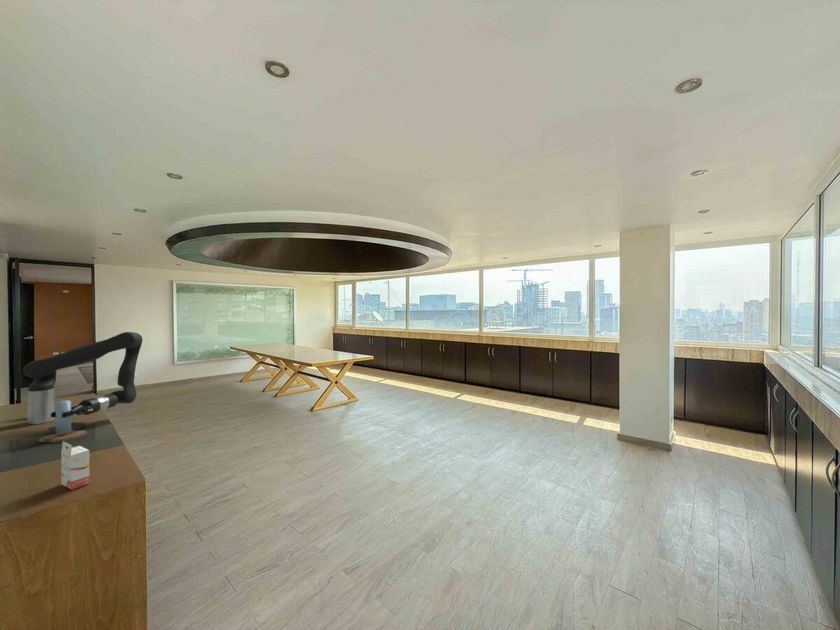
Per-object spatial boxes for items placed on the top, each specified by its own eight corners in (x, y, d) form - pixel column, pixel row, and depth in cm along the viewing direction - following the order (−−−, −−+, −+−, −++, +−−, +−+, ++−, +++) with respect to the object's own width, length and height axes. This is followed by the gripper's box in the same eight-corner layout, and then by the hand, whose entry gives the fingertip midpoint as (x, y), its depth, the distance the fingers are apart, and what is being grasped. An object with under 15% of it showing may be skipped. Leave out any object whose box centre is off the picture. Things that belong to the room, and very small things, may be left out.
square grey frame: (48, 432, 167) (48, 428, 167) (68, 426, 176) (68, 422, 176) (65, 432, 167) (65, 428, 167) (84, 426, 176) (84, 422, 176)
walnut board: (39, 442, 155) (38, 438, 155) (65, 433, 166) (65, 430, 166) (61, 442, 154) (61, 439, 154) (86, 433, 165) (86, 430, 165)
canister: (52, 433, 158) (52, 403, 157) (64, 429, 163) (64, 400, 162) (62, 433, 157) (62, 403, 157) (74, 429, 162) (74, 400, 162)
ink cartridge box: (90, 483, 117) (90, 441, 117) (71, 490, 113) (70, 446, 113) (80, 478, 121) (79, 436, 121) (60, 484, 117) (60, 441, 117)
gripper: (80, 397, 174) (42, 406, 157) (107, 397, 174) (71, 407, 157) (81, 412, 175) (42, 423, 158) (107, 412, 174) (71, 423, 157)
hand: (57, 415), depth 157 cm, fingers closed on canister, 5 cm apart
